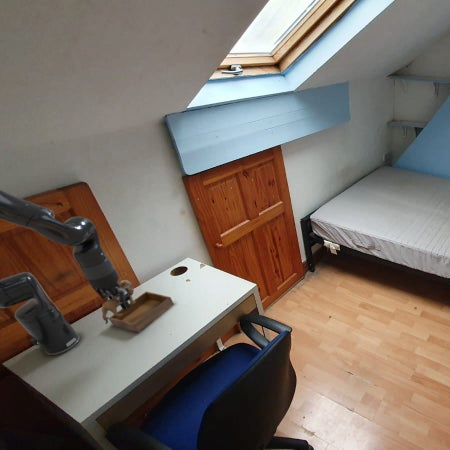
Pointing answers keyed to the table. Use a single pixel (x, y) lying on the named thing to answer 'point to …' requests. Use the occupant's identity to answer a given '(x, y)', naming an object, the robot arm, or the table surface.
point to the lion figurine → (113, 303)
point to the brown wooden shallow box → (142, 312)
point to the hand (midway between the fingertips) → (121, 307)
